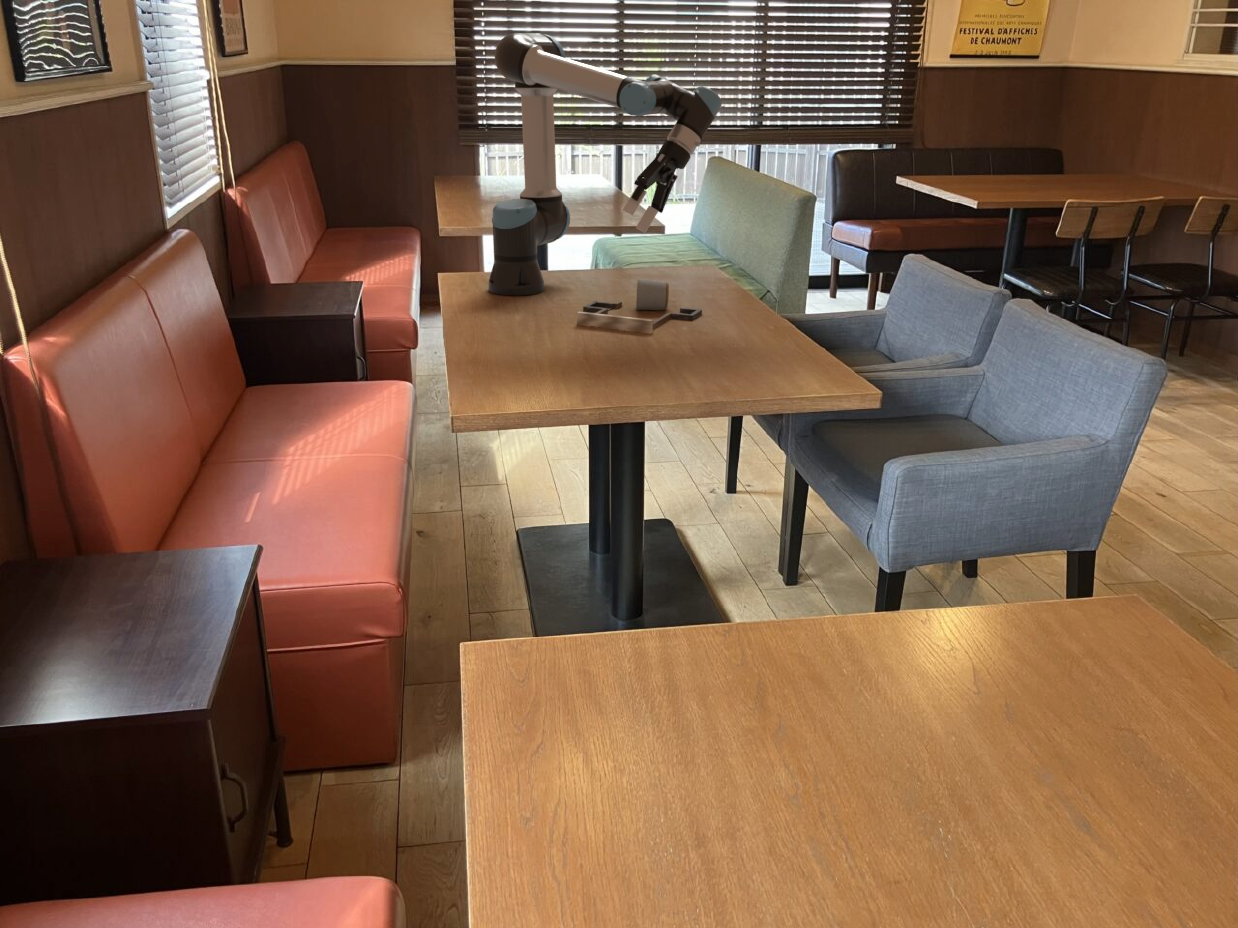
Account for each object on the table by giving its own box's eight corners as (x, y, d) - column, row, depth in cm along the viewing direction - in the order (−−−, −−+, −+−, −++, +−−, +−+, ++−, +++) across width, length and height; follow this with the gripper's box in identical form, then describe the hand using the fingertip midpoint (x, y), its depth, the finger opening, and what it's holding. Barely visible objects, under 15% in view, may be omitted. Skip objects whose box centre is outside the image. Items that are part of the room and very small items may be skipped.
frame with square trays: (560, 323, 247) (559, 310, 246) (599, 303, 267) (599, 291, 265) (668, 335, 237) (669, 323, 236) (701, 314, 256) (702, 302, 255)
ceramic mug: (668, 313, 257) (669, 282, 255) (636, 312, 257) (636, 282, 255) (666, 304, 267) (667, 274, 265) (635, 303, 267) (635, 274, 265)
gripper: (682, 133, 241) (635, 211, 242) (700, 173, 265) (657, 244, 266) (655, 120, 243) (609, 197, 244) (675, 160, 267) (633, 231, 268)
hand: (634, 222), depth 255 cm, fingers open, 13 cm apart
